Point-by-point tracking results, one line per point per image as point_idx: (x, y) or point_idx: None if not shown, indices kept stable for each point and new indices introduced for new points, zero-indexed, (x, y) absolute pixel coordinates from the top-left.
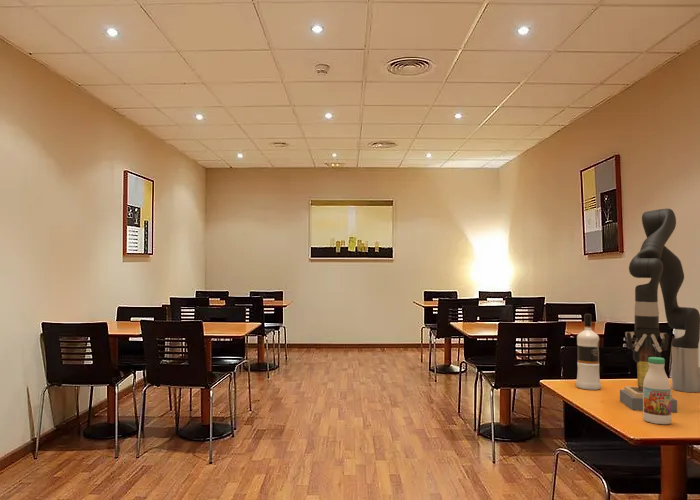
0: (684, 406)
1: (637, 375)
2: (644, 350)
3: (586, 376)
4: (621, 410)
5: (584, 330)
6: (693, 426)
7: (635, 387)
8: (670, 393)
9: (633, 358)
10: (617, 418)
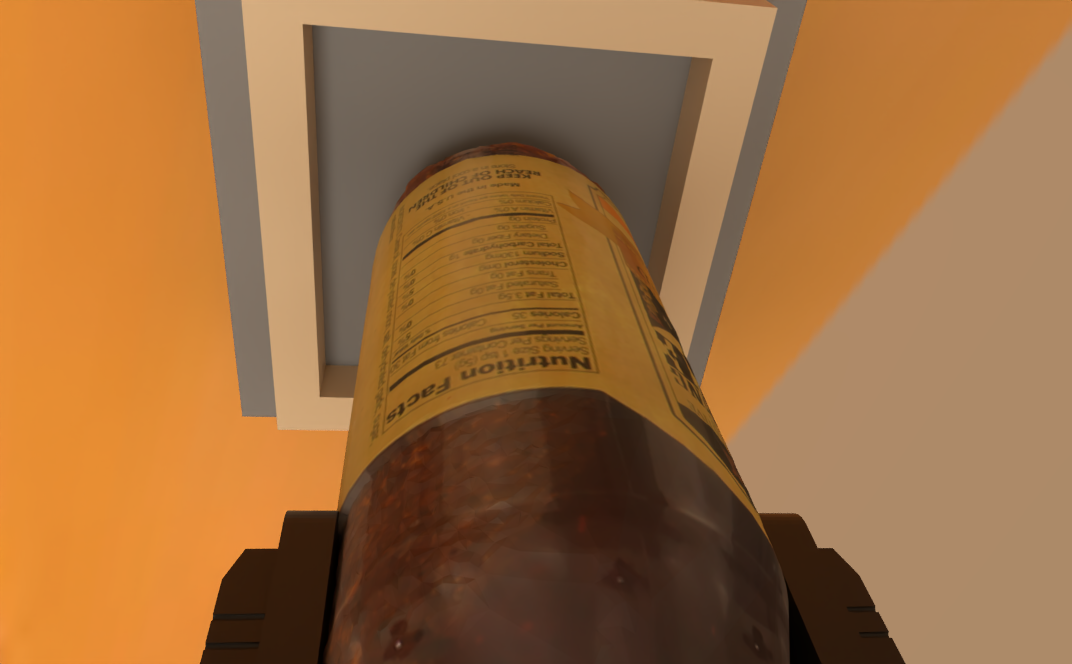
0: (914, 94)
1: (363, 336)
2: None
3: None
4: (152, 367)
5: None
6: None
7: (411, 30)
8: None
9: (226, 606)
10: (79, 587)
